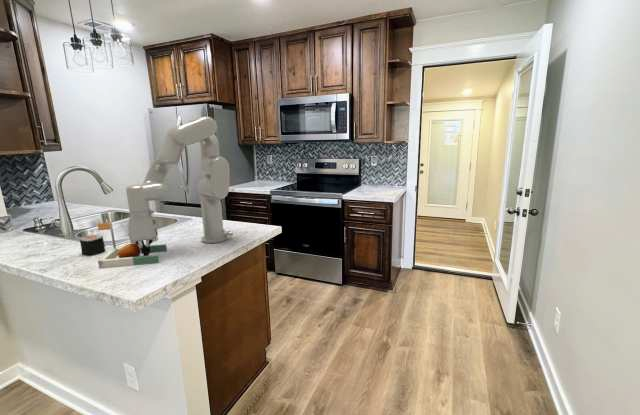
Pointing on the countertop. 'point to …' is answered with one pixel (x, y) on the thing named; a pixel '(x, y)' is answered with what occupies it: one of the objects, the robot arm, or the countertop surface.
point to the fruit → (129, 251)
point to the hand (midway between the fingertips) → (146, 254)
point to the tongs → (111, 262)
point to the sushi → (92, 245)
